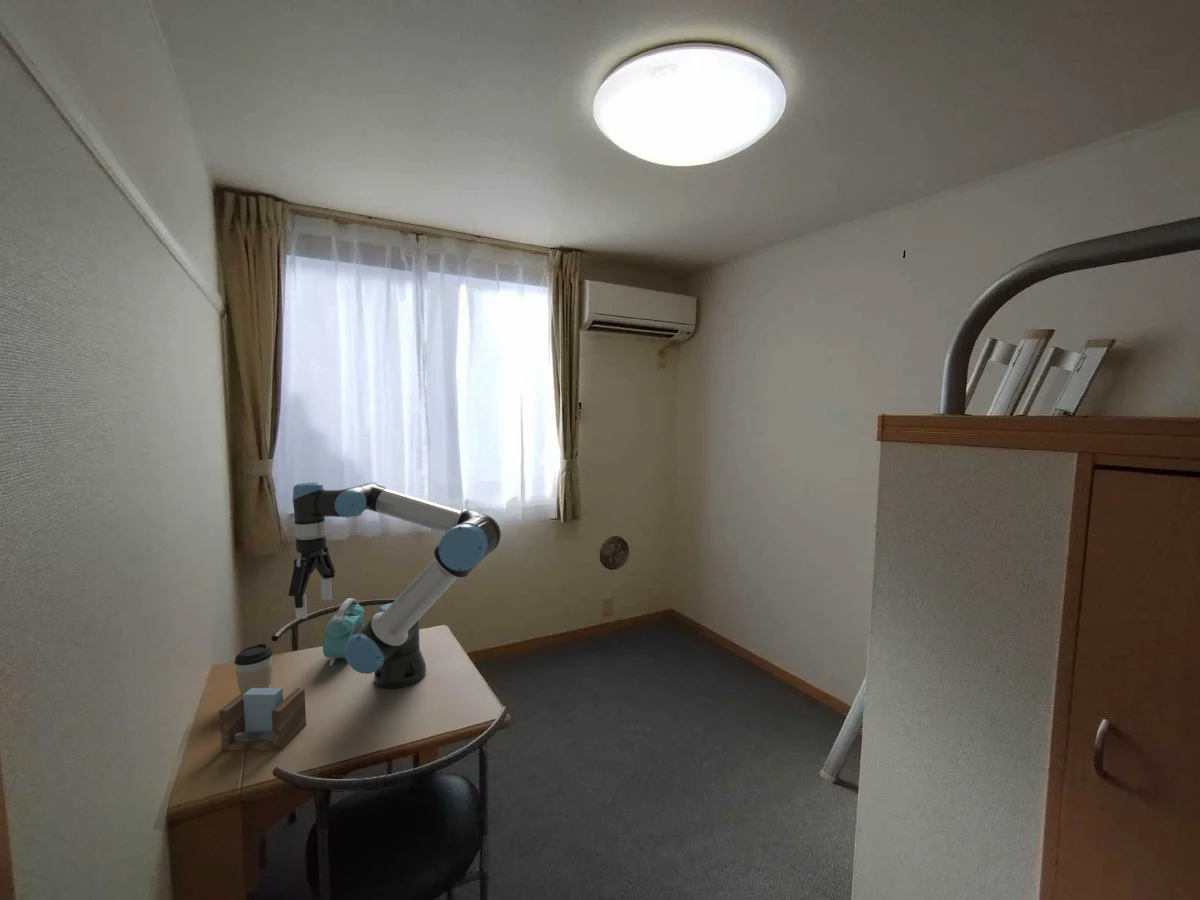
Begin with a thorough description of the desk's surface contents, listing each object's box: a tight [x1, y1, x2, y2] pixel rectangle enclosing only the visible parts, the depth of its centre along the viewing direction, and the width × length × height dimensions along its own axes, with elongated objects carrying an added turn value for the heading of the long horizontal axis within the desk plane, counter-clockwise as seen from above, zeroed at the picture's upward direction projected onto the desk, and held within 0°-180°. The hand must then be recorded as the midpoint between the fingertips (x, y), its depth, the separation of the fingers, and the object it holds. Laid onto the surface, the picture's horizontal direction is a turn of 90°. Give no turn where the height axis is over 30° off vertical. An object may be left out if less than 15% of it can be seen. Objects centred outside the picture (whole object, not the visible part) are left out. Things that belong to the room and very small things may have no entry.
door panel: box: [243, 687, 284, 733], centre depth 127 cm, size 8×3×11 cm, turn 90°
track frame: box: [218, 687, 307, 751], centre depth 127 cm, size 15×10×10 cm, turn 89°
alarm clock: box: [322, 597, 365, 667], centre depth 168 cm, size 17×10×20 cm, turn 5°
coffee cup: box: [233, 643, 274, 695], centre depth 144 cm, size 9×9×15 cm
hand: (314, 608), depth 144 cm, fingers open, 13 cm apart
